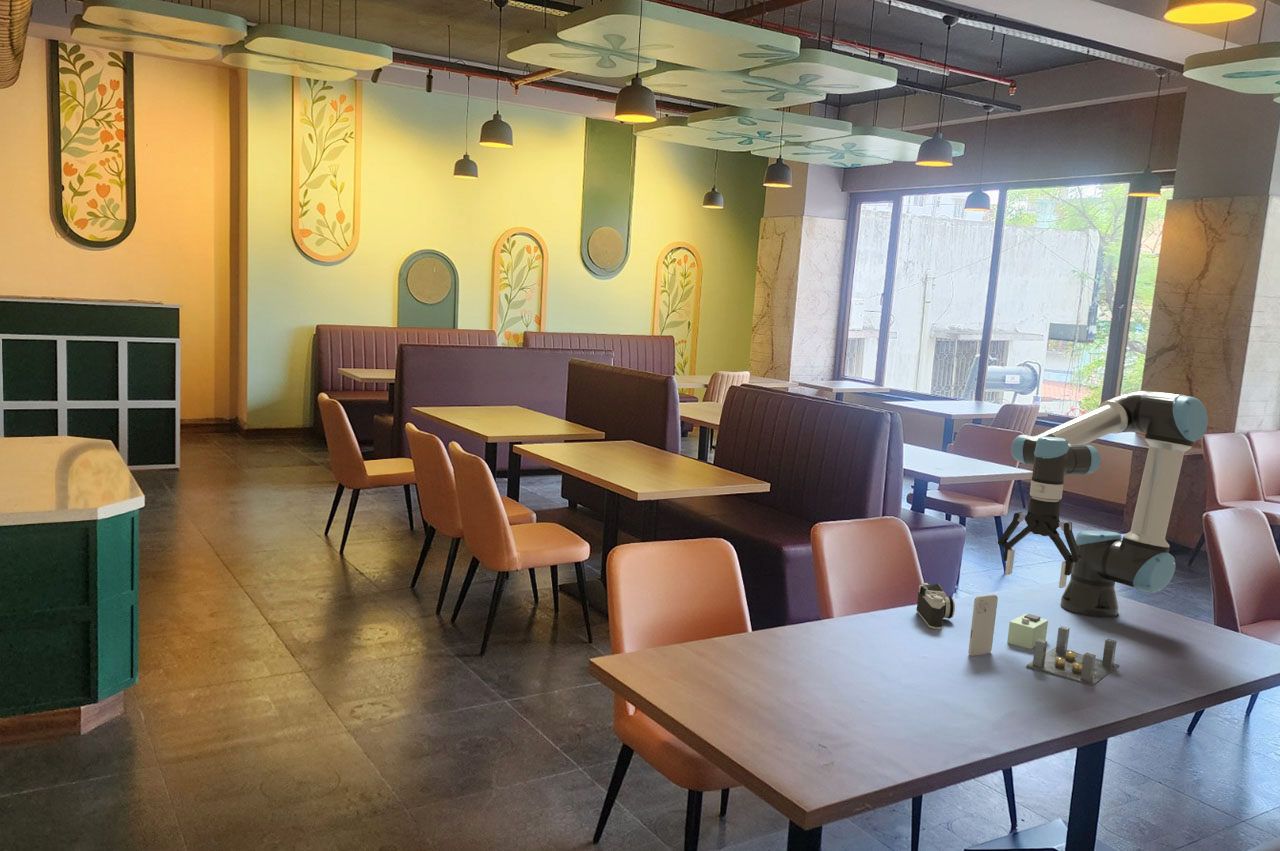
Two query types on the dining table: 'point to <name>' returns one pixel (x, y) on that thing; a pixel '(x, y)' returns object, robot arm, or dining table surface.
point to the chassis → (1073, 660)
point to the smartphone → (983, 624)
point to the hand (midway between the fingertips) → (1034, 580)
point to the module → (1027, 630)
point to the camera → (934, 605)
